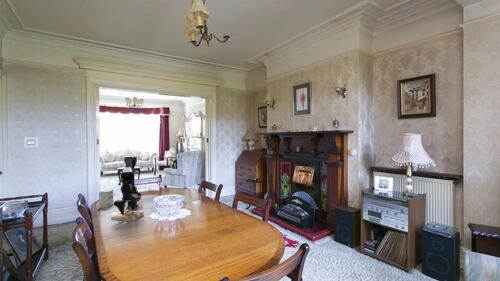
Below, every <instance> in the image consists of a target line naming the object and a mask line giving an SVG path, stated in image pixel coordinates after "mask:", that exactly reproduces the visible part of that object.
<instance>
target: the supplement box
mask: <svg viewBox="0 0 500 281" xmlns="http://www.w3.org/2000/svg"><path fill="white" fill-rule="evenodd" d="M98 204H99V209H101V208H102V209H103V208H105V209H106V208H109V207H112V206H114V189H103V190H101V191H99V192H98Z"/></svg>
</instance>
